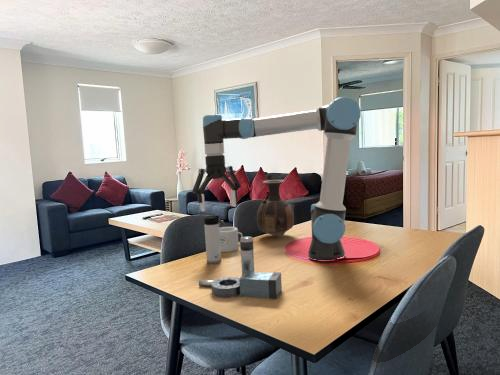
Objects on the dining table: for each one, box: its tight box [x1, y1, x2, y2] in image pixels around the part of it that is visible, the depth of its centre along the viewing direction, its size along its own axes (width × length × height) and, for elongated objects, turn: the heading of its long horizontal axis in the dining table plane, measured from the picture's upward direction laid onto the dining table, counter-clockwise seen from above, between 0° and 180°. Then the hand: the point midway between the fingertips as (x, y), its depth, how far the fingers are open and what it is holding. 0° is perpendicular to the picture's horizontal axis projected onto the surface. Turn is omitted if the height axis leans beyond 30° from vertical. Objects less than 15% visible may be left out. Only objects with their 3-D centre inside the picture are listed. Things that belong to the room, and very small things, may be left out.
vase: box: [256, 179, 295, 238], centre depth 198 cm, size 23×19×30 cm
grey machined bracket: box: [198, 271, 283, 300], centre depth 127 cm, size 30×11×6 cm, turn 72°
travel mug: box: [203, 215, 222, 265], centre depth 161 cm, size 6×7×20 cm
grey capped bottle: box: [239, 235, 255, 276], centre depth 135 cm, size 5×5×16 cm
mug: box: [219, 226, 244, 253], centre depth 179 cm, size 14×11×10 cm
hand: (218, 208), depth 149 cm, fingers open, 13 cm apart
